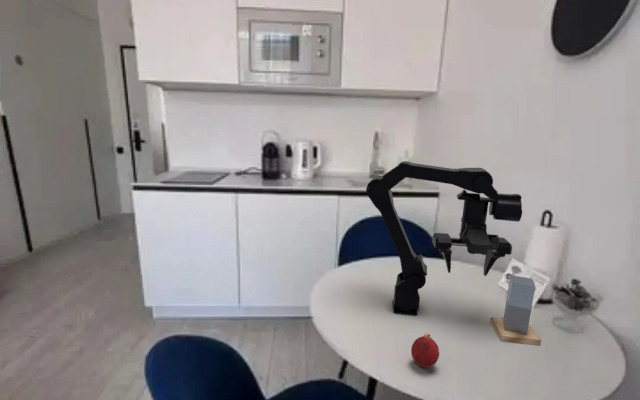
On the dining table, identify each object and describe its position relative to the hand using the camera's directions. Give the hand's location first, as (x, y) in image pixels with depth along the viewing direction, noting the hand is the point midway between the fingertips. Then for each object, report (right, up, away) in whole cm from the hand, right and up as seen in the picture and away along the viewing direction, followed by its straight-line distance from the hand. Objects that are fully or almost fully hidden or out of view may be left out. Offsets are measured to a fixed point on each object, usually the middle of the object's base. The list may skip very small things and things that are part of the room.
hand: (466, 273), depth 99 cm
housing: (+11, -13, -4) cm, 17 cm away
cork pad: (+11, -15, -3) cm, 18 cm away
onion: (-17, -17, -18) cm, 30 cm away
